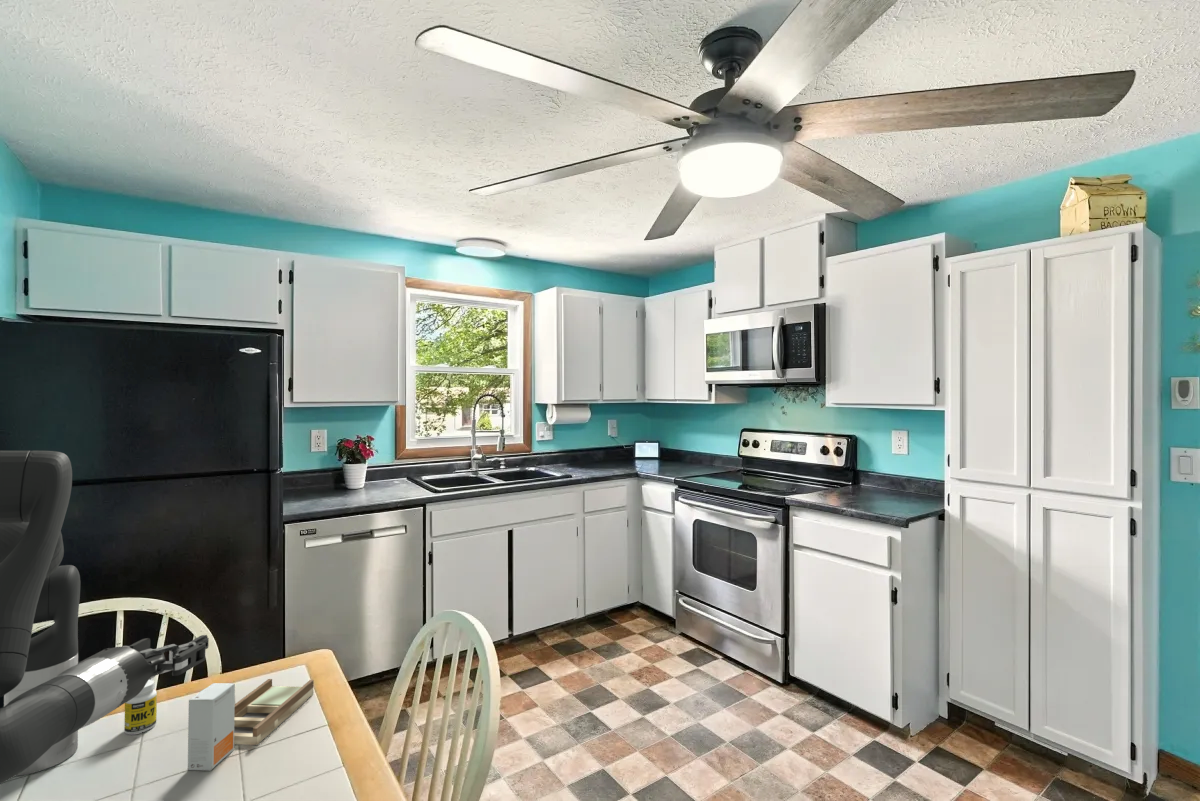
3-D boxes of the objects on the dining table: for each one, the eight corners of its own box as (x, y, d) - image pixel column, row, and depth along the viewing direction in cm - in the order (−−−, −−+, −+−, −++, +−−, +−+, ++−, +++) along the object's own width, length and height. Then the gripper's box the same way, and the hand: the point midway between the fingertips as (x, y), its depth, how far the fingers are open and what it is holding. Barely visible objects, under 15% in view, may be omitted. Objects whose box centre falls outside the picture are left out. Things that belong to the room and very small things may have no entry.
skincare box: (211, 771, 95) (212, 700, 95) (186, 771, 95) (187, 700, 95) (235, 749, 101) (235, 682, 101) (212, 749, 101) (212, 682, 101)
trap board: (204, 743, 103) (204, 726, 103) (268, 692, 120) (268, 678, 121) (256, 745, 102) (257, 728, 102) (313, 694, 120) (313, 680, 120)
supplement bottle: (128, 738, 104) (128, 693, 104) (121, 729, 107) (121, 685, 107) (160, 726, 108) (160, 682, 108) (152, 718, 111) (152, 675, 111)
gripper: (153, 655, 74) (224, 616, 90) (35, 662, 72) (129, 621, 88) (152, 714, 73) (223, 664, 89) (33, 722, 72) (127, 670, 88)
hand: (176, 642), depth 89 cm, fingers open, 8 cm apart
